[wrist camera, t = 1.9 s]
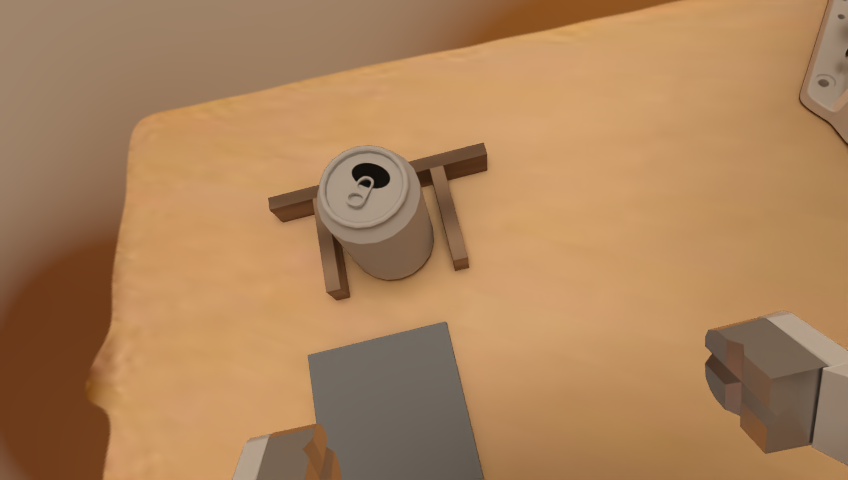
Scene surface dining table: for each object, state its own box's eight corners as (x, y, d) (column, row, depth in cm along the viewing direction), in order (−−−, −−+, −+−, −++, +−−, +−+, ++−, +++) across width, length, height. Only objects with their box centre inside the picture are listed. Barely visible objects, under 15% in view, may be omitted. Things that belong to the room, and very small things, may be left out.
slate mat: (310, 356, 40) (307, 355, 40) (446, 322, 40) (445, 321, 39) (330, 512, 36) (328, 514, 36) (483, 476, 36) (483, 478, 35)
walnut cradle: (281, 211, 45) (268, 198, 43) (483, 159, 45) (483, 142, 42) (293, 310, 42) (280, 303, 39) (513, 256, 41) (515, 245, 38)
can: (447, 221, 43) (434, 154, 32) (414, 295, 41) (387, 251, 30) (375, 194, 45) (339, 122, 34) (339, 264, 43) (288, 212, 32)
